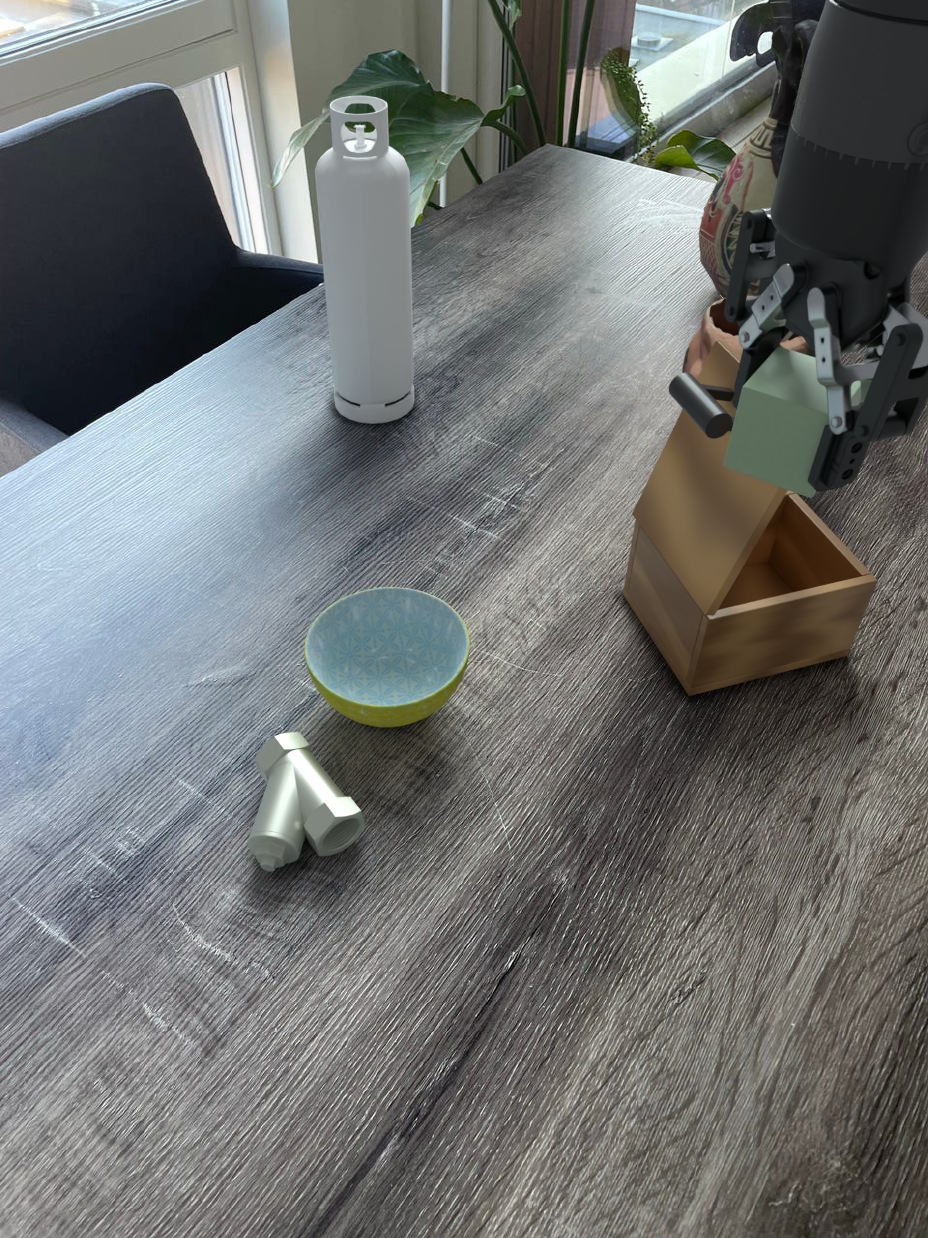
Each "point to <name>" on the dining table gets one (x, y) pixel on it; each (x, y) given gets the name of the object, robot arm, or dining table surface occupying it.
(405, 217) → the bottle
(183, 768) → the dining table surface
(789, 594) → the chest
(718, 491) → the lid
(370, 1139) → the dining table surface
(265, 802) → the pipe fitting
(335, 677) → the bowl
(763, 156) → the ceramic jug
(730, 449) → the block
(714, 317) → the decorative planter
